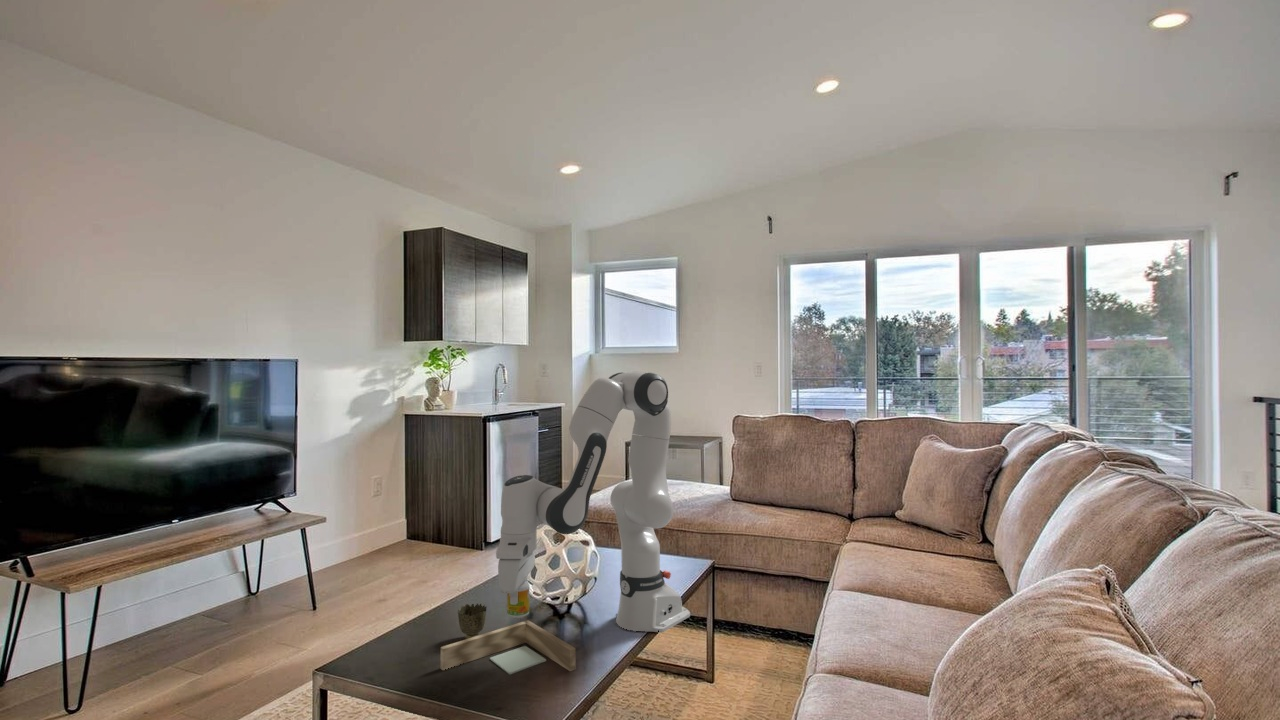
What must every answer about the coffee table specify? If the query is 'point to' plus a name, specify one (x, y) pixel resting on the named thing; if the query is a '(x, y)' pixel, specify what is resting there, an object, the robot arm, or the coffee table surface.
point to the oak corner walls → (508, 645)
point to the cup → (472, 619)
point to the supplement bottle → (520, 601)
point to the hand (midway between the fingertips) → (518, 598)
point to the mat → (517, 659)
